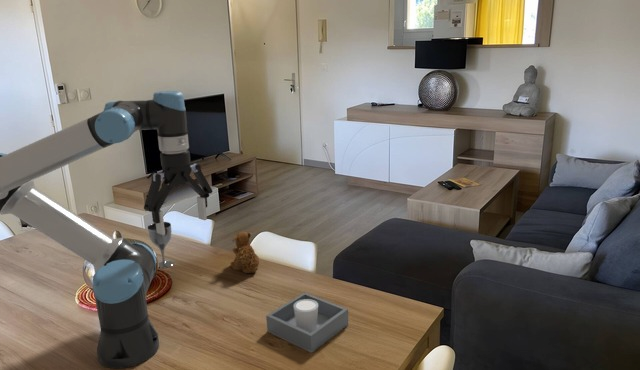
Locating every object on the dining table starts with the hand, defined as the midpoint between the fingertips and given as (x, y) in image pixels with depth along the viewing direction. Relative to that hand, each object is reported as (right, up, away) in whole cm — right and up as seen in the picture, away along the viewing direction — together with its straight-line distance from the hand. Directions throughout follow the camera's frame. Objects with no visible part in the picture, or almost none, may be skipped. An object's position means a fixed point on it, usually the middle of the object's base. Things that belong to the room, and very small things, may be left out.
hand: (182, 226), depth 135 cm
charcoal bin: (+35, -28, +1) cm, 45 cm away
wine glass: (-19, -18, +43) cm, 51 cm away
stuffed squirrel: (+12, -18, +38) cm, 44 cm away
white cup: (+34, -28, +1) cm, 44 cm away
